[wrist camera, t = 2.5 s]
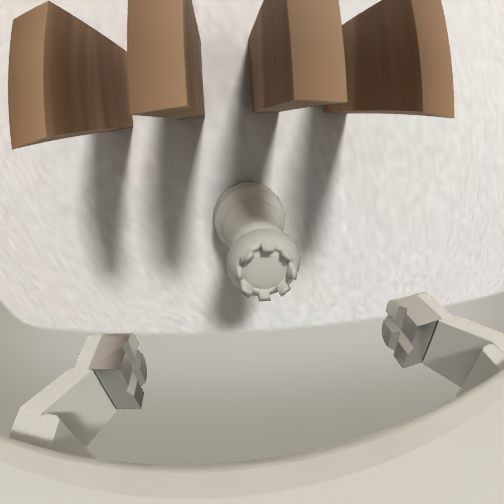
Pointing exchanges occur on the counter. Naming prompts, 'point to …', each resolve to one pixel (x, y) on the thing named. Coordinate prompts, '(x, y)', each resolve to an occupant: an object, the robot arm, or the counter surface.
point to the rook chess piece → (256, 240)
